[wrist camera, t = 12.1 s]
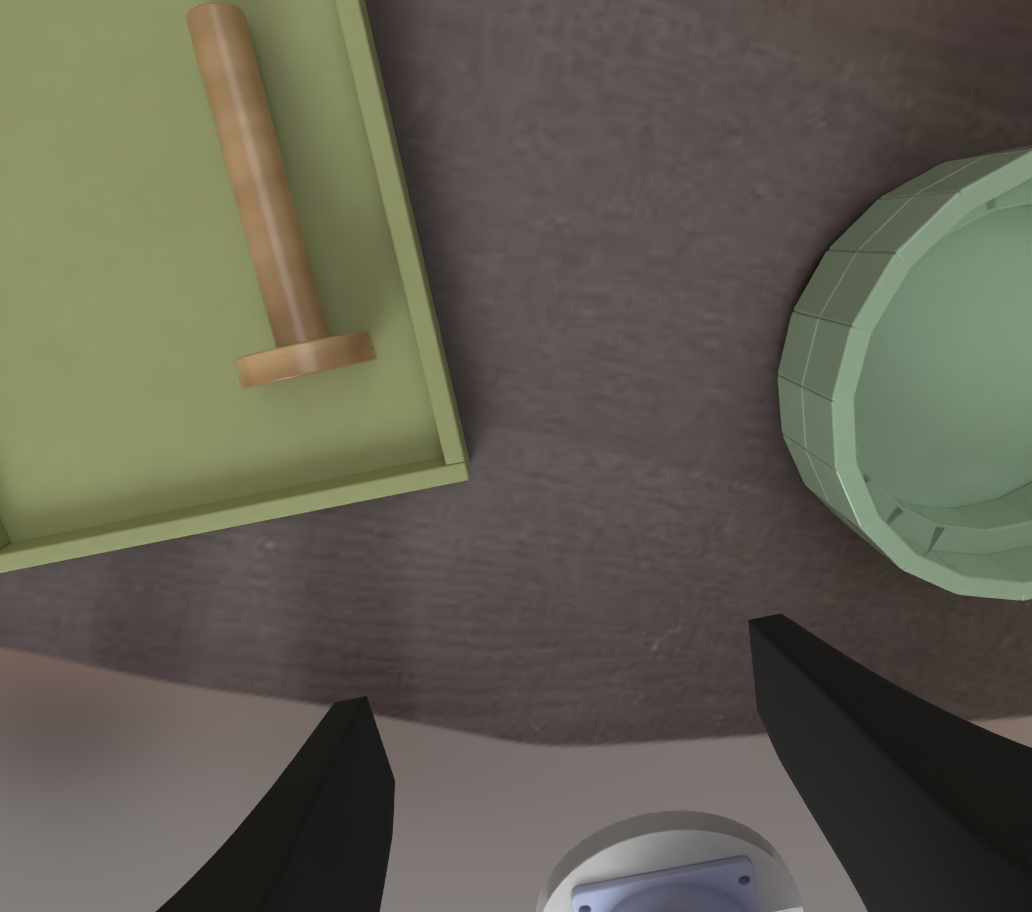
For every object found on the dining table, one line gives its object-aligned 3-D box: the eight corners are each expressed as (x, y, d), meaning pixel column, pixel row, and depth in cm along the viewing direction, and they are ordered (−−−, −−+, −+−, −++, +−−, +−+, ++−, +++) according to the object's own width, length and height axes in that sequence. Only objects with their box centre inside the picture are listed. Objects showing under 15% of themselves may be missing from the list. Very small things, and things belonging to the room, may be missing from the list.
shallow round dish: (1142, 502, 24) (1269, 554, 20) (787, 571, 24) (844, 635, 20) (1178, 113, 20) (1342, 84, 16) (756, 199, 20) (820, 192, 16)
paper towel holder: (365, 361, 17) (264, -38, 15) (221, 394, 17) (105, -4, 15) (385, 357, 21) (305, 32, 19) (266, 383, 21) (175, 59, 19)
